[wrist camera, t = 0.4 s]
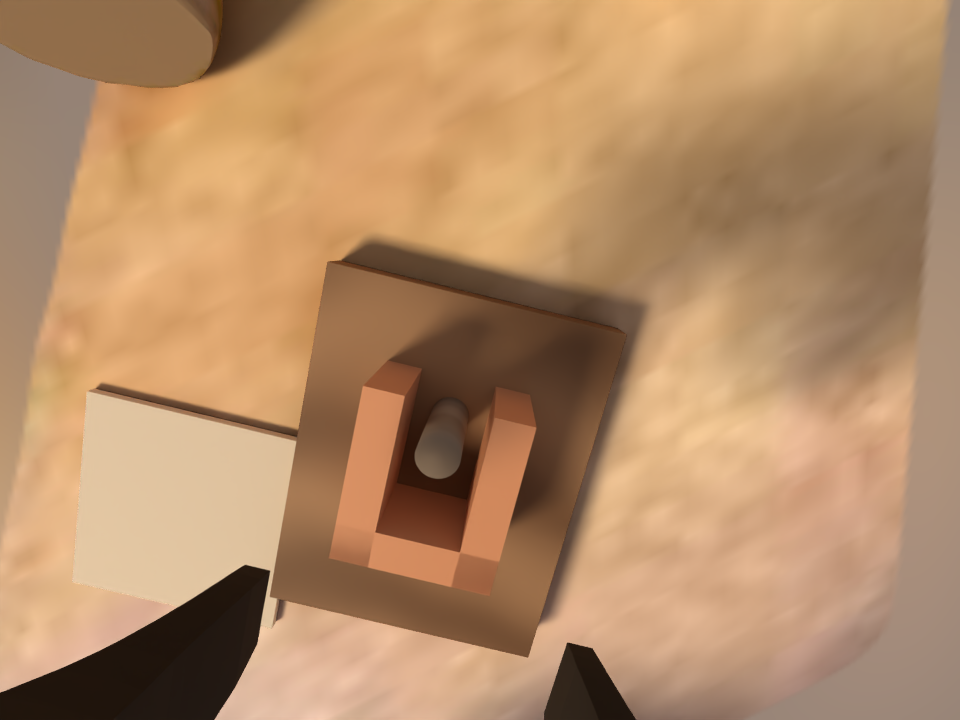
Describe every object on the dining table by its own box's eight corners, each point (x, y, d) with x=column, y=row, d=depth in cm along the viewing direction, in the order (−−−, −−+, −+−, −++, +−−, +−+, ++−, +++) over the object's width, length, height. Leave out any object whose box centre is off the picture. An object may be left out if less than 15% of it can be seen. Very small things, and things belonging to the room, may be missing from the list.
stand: (526, 631, 23) (534, 747, 18) (283, 574, 23) (219, 673, 18) (617, 328, 20) (660, 358, 15) (340, 260, 20) (281, 266, 15)
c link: (491, 536, 21) (489, 596, 17) (357, 504, 21) (328, 558, 17) (529, 394, 19) (536, 427, 16) (387, 360, 19) (362, 385, 16)
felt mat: (275, 622, 24) (271, 628, 23) (79, 576, 24) (72, 582, 23) (308, 439, 22) (304, 443, 21) (94, 388, 22) (87, 391, 21)
